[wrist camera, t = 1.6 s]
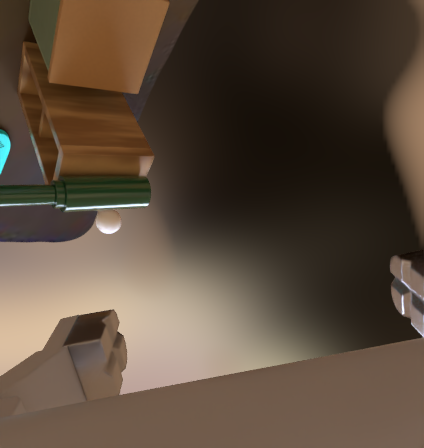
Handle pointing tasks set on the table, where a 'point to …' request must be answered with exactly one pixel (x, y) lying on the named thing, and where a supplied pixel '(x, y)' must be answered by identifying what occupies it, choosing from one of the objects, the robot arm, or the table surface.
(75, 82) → the block
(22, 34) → the table surface
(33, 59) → the shelf
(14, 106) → the table surface
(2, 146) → the handheld game console
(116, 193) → the bottle
